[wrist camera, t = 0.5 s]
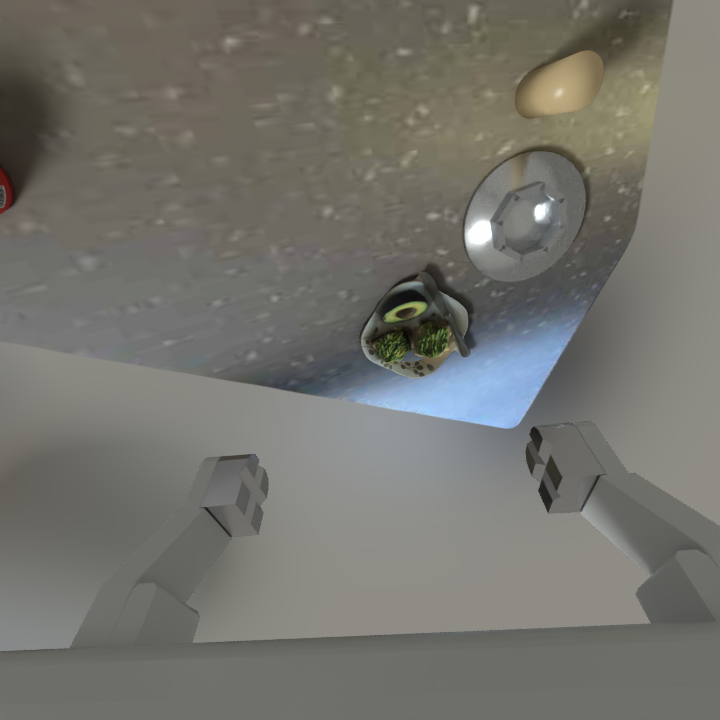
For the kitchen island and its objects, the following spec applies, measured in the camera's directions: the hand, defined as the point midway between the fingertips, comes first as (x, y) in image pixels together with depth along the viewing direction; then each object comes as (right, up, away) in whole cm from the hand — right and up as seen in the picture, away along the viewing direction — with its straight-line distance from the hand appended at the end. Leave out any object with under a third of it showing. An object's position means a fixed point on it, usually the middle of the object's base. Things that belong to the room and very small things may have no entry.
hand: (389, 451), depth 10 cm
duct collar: (+23, +24, +41) cm, 53 cm away
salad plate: (+8, +9, +49) cm, 51 cm away
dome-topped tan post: (+21, +37, +33) cm, 54 cm away
